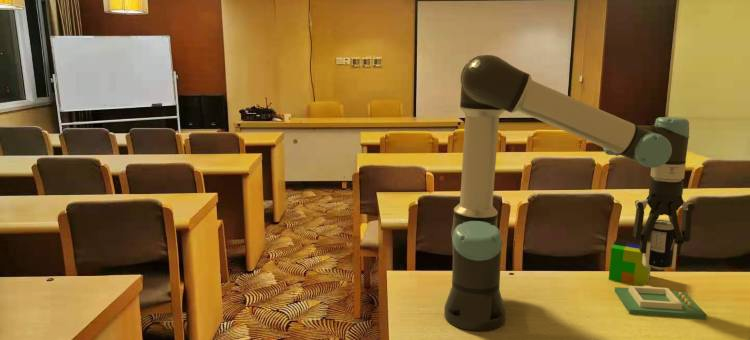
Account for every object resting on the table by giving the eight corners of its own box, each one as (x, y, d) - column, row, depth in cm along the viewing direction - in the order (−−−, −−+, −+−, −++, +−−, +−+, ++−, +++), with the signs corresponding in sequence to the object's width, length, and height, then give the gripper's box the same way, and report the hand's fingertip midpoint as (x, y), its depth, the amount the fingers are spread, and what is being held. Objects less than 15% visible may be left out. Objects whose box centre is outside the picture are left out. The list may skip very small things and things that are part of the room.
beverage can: (673, 271, 136) (678, 226, 134) (649, 269, 137) (654, 225, 135) (666, 263, 142) (670, 219, 139) (643, 262, 143) (647, 218, 141)
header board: (629, 313, 136) (630, 303, 136) (614, 291, 150) (615, 282, 149) (706, 319, 133) (707, 309, 133) (683, 295, 147) (684, 286, 146)
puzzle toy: (649, 275, 161) (653, 244, 159) (646, 287, 153) (649, 254, 151) (614, 269, 166) (616, 238, 164) (608, 280, 158) (611, 247, 156)
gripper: (632, 180, 133) (624, 268, 138) (713, 183, 130) (703, 273, 134) (623, 174, 140) (616, 258, 145) (700, 176, 137) (691, 262, 142)
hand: (658, 265), depth 140 cm, fingers closed on beverage can, 6 cm apart
